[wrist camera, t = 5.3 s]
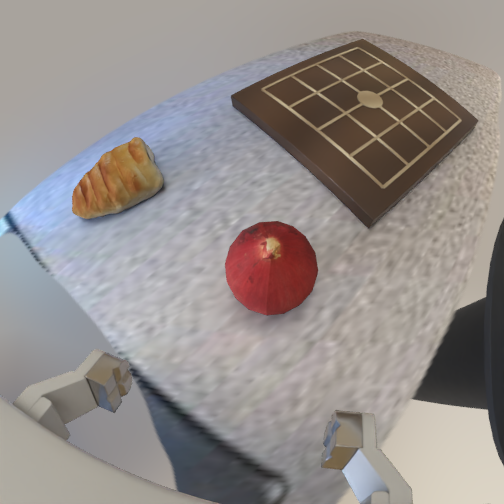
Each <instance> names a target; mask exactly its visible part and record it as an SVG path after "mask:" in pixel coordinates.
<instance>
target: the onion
mask: <svg viewBox="0 0 504 504" xmlns="http://www.w3.org/2000/svg"><path fill="white" fill-rule="evenodd" d="M225 268H226V278H227V282H228V285H229V286H230V288H231V290H232V292H233V294H234V296H235V298H236V299H237V300H238V301H240V302H241V303H242V304H243V305H244V306H245V307H247V308H248V309H249V310H252V311H255V312H258V313H261V314H264V315H274V314H284V313H285V312H287V311H289V310H291V309H293V308H295V307H297V306H299V305H300V304H301V303H302V302H303V301H304V300H305V299H306V297H307V296H308V295H309V294H310V293H311V292H312V290H313V287H314V284H315V280H316V277H317V273H318V267H317V261H316V255H315V252H314V250H313V248H312V246H311V245H310V243H309V241H308V240H307V238H306V236H304V235H303V234H302V233H301V232H299V231H298V230H297V229H296V228H294V227H293V226H290V225H287V224H284V223H281V222H279V221H273V222H260V223H257V224H255V225H253V226H251V227H249V228H247V229H245V230H243V231H242V232H241V233H240V234H239V236H238V237H237V238H236V240H235V241H234V242H233V243H232V245H231V246H230V249H229V252H228V256H227V259H226V263H225Z"/></svg>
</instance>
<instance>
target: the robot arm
mask: <svg viewBox="0 0 504 504" xmlns="http://www.w3.org/2000/svg"><path fill="white" fill-rule="evenodd" d="M128 368H129V363H128V361H126V360H123V359H121V358H118V357H116V356H114V355H111V354H109V353H106V352H104V351H101V350H99V349H95V350H93V351H92V352H91V353H90V355H89V356H88V357H87V358H86V359H85V360H84V361H83V363H82V364H81V365H80V366H79V367H78V368H77V369H76V371H75V372H73V371H70V372H67V373H64V374H61V375H59V376H56V377H53V378H50V379H47V380H45V381H42V382H38V383H36V384H33V385H30V386H28V387H27V388H26V389H25V390H24V391H23V392H22V394H21V395H20V396H19V397H18V398H17V399H16V400H15V401H14V403H13V404H12V403H10V402H9V401H8V400H6V399H5V398H4V397H3V396H1V395H0V504H220V503H216V502H212V501H208V500H205V499H201V498H198V497H194V496H191V495H188V494H185V493H182V492H179V491H176V490H173V489H170V488H167V487H164V486H161V485H159V484H156V483H153V482H151V481H148V480H146V479H143V478H141V477H138V476H136V475H134V474H131V473H129V472H127V471H124V470H122V469H120V468H118V467H116V466H114V465H111V464H109V463H107V462H105V461H103V460H101V459H99V458H97V457H95V456H93V455H91V454H89V453H88V452H86V451H84V450H82V449H80V448H78V447H77V446H75V445H73V444H71V443H70V442H68V441H67V439H68V438H69V437H70V433H69V431H68V430H67V428H66V426H65V424H67V423H69V422H71V421H72V420H74V419H76V418H78V417H80V416H82V415H84V414H86V413H88V412H89V411H91V410H93V409H95V408H97V407H98V406H99V407H102V408H104V409H106V410H109V411H111V412H113V413H115V412H116V410H117V409H118V407H119V406H120V404H121V403H122V399H121V397H122V396H125V395H126V394H128V392H129V390H130V388H131V385H132V375H131V373H130V372H129V371H128ZM323 444H324V446H325V447H326V448H325V449H324V451H323V453H322V462H321V467H322V468H330V469H340V470H342V472H343V474H344V475H345V477H346V479H347V481H348V483H349V485H350V486H351V488H352V490H353V492H354V494H355V496H356V497H357V499H358V501H359V503H360V504H413V500H412V489H411V487H410V486H409V485H408V484H407V482H406V481H405V480H404V479H403V477H402V476H401V475H400V473H399V472H398V471H397V470H396V468H395V467H394V466H393V465H392V463H391V462H390V461H389V459H388V458H387V457H386V455H385V454H384V453H383V452H382V450H381V449H377V441H376V426H375V416H374V414H371V413H360V412H350V411H339V410H335V411H334V412H333V414H332V421H330V422H328V424H327V427H326V430H325V433H324V439H323Z"/></svg>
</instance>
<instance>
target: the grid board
mask: <svg viewBox="0 0 504 504" xmlns="http://www.w3.org/2000/svg"><path fill="white" fill-rule="evenodd" d="M231 99H232V105H233V106H234V107H235V108H236V109H238V110H239V111H240V112H241V113H243V114H244V115H245V116H246V117H248V118H249V119H250V120H251V121H253V122H254V123H255V124H256V125H257V126H259V127H260V128H261V129H262V130H264V131H265V132H266V133H267V134H268V135H269V136H271V137H272V138H273V139H274V140H275V141H277V142H278V143H279V144H280V145H281V146H282V147H283V148H285V149H286V150H287V151H288V152H289V153H290V154H291V155H293V156H294V157H295V158H296V159H297V160H298V161H299V162H300V163H302V164H303V165H304V166H305V167H306V168H307V169H308V170H309V171H310V172H311V173H313V174H314V175H315V176H316V177H317V178H318V179H319V180H320V181H321V182H322V183H323V184H324V185H325V186H326V187H328V188H329V189H330V190H331V191H332V192H333V193H334V194H335V195H336V196H337V197H338V198H339V199H340V200H341V201H342V202H343V203H344V204H345V205H346V206H347V207H348V208H349V209H350V210H351V211H352V212H353V213H354V214H355V215H356V216H357V217H358V218H359V219H360V220H361V221H362V222H363V223H364V224H365V225H366V226H367V227H368V228H370V227H371V226H372V225H373V224H374V223H375V222H376V221H378V220H379V219H380V218H381V217H382V216H383V215H384V214H385V213H386V212H388V211H389V210H390V209H391V208H392V207H393V206H394V205H395V204H396V203H397V202H399V201H400V200H401V199H402V198H403V197H404V196H405V195H406V194H407V193H408V192H409V191H410V190H412V189H413V188H414V187H415V186H416V185H417V184H418V183H419V182H420V181H421V180H422V179H423V178H424V177H425V176H426V175H427V174H428V173H429V172H430V171H432V170H433V169H434V168H435V167H436V166H437V165H438V164H439V163H440V162H441V161H442V160H443V159H444V158H445V157H446V156H447V155H448V154H449V153H450V152H451V151H452V150H453V149H454V148H455V147H456V146H457V145H458V144H459V143H460V142H461V141H462V140H463V139H464V138H465V137H466V136H467V135H468V134H469V133H470V132H471V131H472V130H473V129H474V127H475V126H476V124H477V122H478V120H477V119H476V118H475V117H474V116H473V115H472V114H471V113H469V112H468V111H467V110H466V109H465V108H464V107H462V106H461V105H460V104H459V103H458V102H456V101H455V100H454V99H453V98H451V97H450V96H449V95H448V94H446V93H445V92H444V91H442V90H441V89H440V88H439V87H437V86H436V85H434V84H433V83H432V82H430V81H429V80H428V79H426V78H425V77H423V76H422V75H421V74H419V73H418V72H416V71H415V70H413V69H412V68H410V67H409V66H407V65H406V64H404V63H403V62H401V61H400V60H398V59H396V58H395V57H393V56H392V55H390V54H388V53H387V52H385V51H383V50H382V49H380V48H378V47H376V46H375V45H373V44H371V43H369V42H367V41H366V40H364V39H361V40H358V41H355V42H352V43H349V44H346V45H343V46H341V47H338V48H335V49H333V50H330V51H327V52H325V53H322V54H320V55H317V56H315V57H312V58H310V59H307V60H305V61H302V62H300V63H298V64H295V65H293V66H291V67H289V68H286V69H284V70H282V71H280V72H277V73H275V74H273V75H271V76H269V77H267V78H265V79H263V80H261V81H259V82H256V83H254V84H252V85H250V86H248V87H247V88H245V89H243V90H241V91H239V92H237V93H235V94H233V95H231Z"/></svg>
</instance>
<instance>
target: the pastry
mask: <svg viewBox="0 0 504 504" xmlns="http://www.w3.org/2000/svg"><path fill="white" fill-rule="evenodd" d="M163 182H164V181H163V177H162V174H161V172H160V170H159V169H158V167H157V166H156V164H155V163H154V154H153V152H152V150H151V149H150V147H149V146H148V145H146V143H145V142H144V141H143V140H142V139H141V138H138V137H135V138H133V139H132V140H131V141H130V142H128V143H125V144H123V145H120V146H118V147H116V148H114V149H113V150H112V151H109V152H106V153H105V154H103V155H102V156H101V159H100V160H99V161H98V162H97V163H96V164H95V166H94V167H93V168H92V169H91V170H90V171H89V172H87V173H86V174H85V175H84V177H83V178H82V179H81V180H80V182H79V183H78V185H77V186H76V187H75V189H74V191H73V196H72V204H73V207H72V211H73V213H74V214H75V215H77V216H80V217H82V218H85V219H90V218H96V217H99V216H105V215H107V214H112V213H113V214H116V213H120V212H122V211H123V210H125V209H128V208H130V207H132V206H134V205H136V204H138V203H139V202H141V201H143V200H146V199H148V198H150V197H152V196H153V195H155V194H156V193H157V192H158V191H159V190H160V189H161V187H162V186H163Z"/></svg>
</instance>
